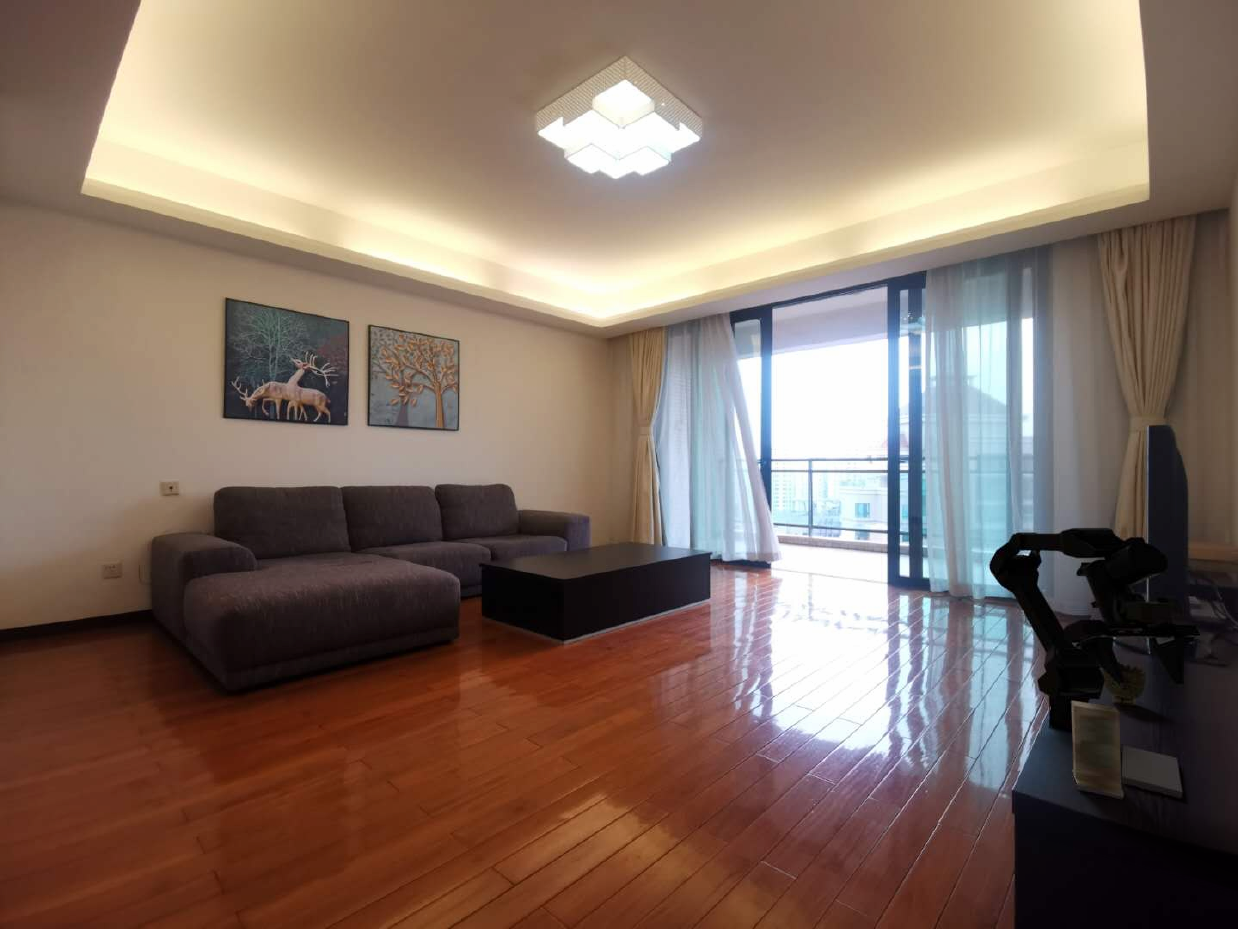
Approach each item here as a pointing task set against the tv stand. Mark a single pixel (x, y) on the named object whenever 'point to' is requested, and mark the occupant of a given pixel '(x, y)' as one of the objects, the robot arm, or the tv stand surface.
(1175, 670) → the robot arm
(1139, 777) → the slate tile
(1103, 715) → the tapered block
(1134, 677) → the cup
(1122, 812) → the tv stand surface
